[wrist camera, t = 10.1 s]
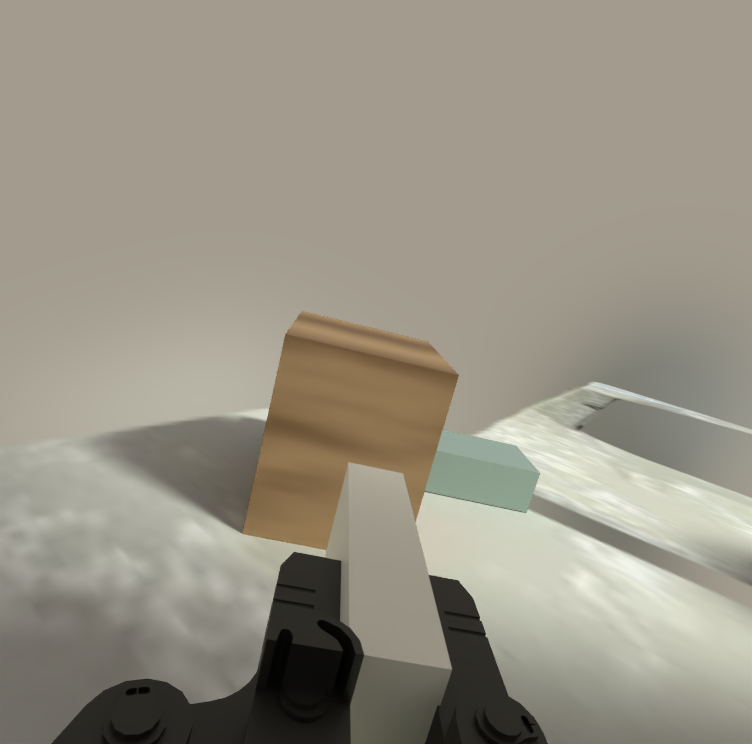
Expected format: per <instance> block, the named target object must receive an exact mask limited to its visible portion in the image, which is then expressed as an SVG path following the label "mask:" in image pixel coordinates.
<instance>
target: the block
mask: <svg viewBox="0 0 752 744" xmlns="http://www.w3.org/2000/svg"><path fill="white" fill-rule="evenodd" d="M458 376H459V375H458V374H457V373H456V372H455V370H454V369H453V368H452V367H451V366H450V365H449V364H448V363H447V362H446V361H445V360H444V359H443V358H442V356H441V355H440V354H439V353H438V352H437V351H436V350H435V349H434V348H433V347H432V346H431V345H430V344H429V342H428V341H424V340H420V339H416V338H411V337H408V336H403V335H399V334H395V333H391V332H387V331H383V330H379V329H375V328H371V327H366V326H362V325H358V324H354V323H350V322H346V321H342V320H337V319H333V318H329V317H325V316H321V315H317V314H312V313H309V312H304V311H302V312H301V314H300V315H299V316H298V317H297V319H296V320H295V322H294V323H293V324H292V326H291V327H290V329H289V330H288V331H287V333H286V335H285V339H284V343H283V348H282V353H281V358H280V362H279V367H278V371H277V376H276V380H275V385H274V390H273V394H272V399H271V404H270V408H269V413H268V417H267V422H266V427H265V431H264V436H263V440H262V445H261V450H260V454H259V459H258V464H257V468H256V473H255V477H254V482H253V487H252V491H251V496H250V501H249V505H248V510H247V514H246V519H245V524H244V528H243V533H242V534H245V535H251V536H256V537H261V538H266V539H272V540H277V541H282V542H287V543H292V544H298V545H303V546H308V547H313V548H319V549H324V550H327V546H328V542H329V538H330V534H331V530H332V526H333V522H334V518H335V514H336V510H337V506H338V502H339V498H340V494H341V490H342V486H343V482H344V478H345V474H346V470H347V466H348V462H350V463H355V464H360V465H365V466H369V467H374V468H379V469H384V470H389V471H394V472H398V473H403V475H404V479H405V483H406V487H407V491H408V495H409V499H410V503H411V507H412V511H413V515H414V519H415V522H416V518H417V515H418V512H419V508H420V505H421V501H422V498H423V495H424V491H425V488H426V485H427V481H428V478H429V474H430V471H431V468H432V464H433V461H434V457H435V454H436V451H437V447H438V444H439V440H440V437H441V434H442V430H443V427H444V424H445V420H446V416H447V413H448V410H449V407H450V403H451V400H452V396H453V393H454V389H455V386H456V383H457V379H458Z"/></svg>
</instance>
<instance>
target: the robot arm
mask: <svg viewBox="0 0 752 744" xmlns="http://www.w3.org/2000/svg"><path fill="white" fill-rule="evenodd" d="M485 634H486V633H485V630H484V627H483V625H482V622H481V621H480V616H479V613H478V611H477V608H476V605H475V602H474V600H473V598H472V597H471V595H470V594H469V593H468V592H467V591H466V589H465V588H464V587H463V586H462V585H461V584H460V582H459V581H458V580H453V579H447V578H442V577H437V576H431V575H428V571H427V567H426V563H425V559H424V555H423V551H422V547H421V543H420V539H419V535H418V531H417V527H416V523H415V519H414V515H413V511H412V507H411V503H410V499H409V495H408V491H407V487H406V483H405V479H404V475H403V473H398V472H394V471H389V470H384V469H379V468H374V467H369V466H365V465H360V464H355V463H350V462H348V466H347V470H346V474H345V478H344V482H343V486H342V490H341V494H340V498H339V502H338V506H337V510H336V514H335V518H334V522H333V526H332V530H331V534H330V538H329V542H328V546H327V550H326V558H324V557H319V556H313V555H308V554H302V553H297V552H294V553H293V554H292V555H291V556H290V557H289V558H288V559H287V560H286V561H285V562H284V563H283V564H282V565H281V567H280V572H279V576H278V580H277V585H276V589H275V593H274V598H273V602H272V607H271V611H270V615H269V620H268V624H267V628H266V633H265V638H264V642H263V647H262V652H261V656H260V661H259V666H258V670H257V673H256V674H255V675H254V677H253V678H252V679H251V681H250V682H249V683H248V684H247V685H246V686H244V687H243V688H242V689H241V690H239V691H238V692H236V693H234V694H232V695H230V696H228V697H226V698H222V699H218V700H214V701H210V702H203V703H196V704H189V702H188V700H187V699H186V697H185V696H184V694H183V692H181V691H180V690H178V689H177V688H175V687H173V686H172V685H170V684H169V683H167V682H162V681H157V680H152V679H140V680H132V681H125V682H123V683H121V684H118V685H116V686H113V687H111V688H109V689H106V690H104V691H103V692H102V693H101V694H99V695H98V696H97V697H96V698H94V699H93V700H92V701H91V702H90V703H88V704H87V705H86V706H85V707H84V708H83V709H82V710H81V712H80V713H79V714H78V715H77V716H76V717H75V718H74V719H73V720H72V722H71V723H70V724H69V725H68V726H67V727H66V728H65V729H64V730H63V732H62V733H61V734H60V735H59V736H58V737H57V738H56V739H55V740H54V742H53V743H52V744H548V743H547V741H546V738H545V736H544V733H543V732H542V730H541V728H540V727H539V725H538V723H537V722H536V720H535V718H534V717H533V716H532V715H531V714H530V713H529V712H528V711H527V710H526V709H525V708H524V707H523V706H522V705H521V704H520V703H518V702H517V701H515V700H514V699H512V698H510V697H509V696H508V694H507V691H506V688H505V685H504V683H503V680H502V677H501V674H500V672H499V669H498V666H497V663H496V661H495V658H494V655H493V652H492V649H491V647H490V644H489V641H488V638H487V637H485Z"/></svg>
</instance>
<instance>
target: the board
mask: <svg viewBox="0 0 752 744" xmlns="http://www.w3.org/2000/svg"><path fill="white" fill-rule="evenodd" d="M539 475H540V473H539V471H538V470H537V469H536V468H535V467H534V466H533V465H532V463H531V462H530V461H529V460H528V459H527V458H526V457H525V455H524V454H523V453H522V452H521V451H520V450H519V449H518V447H517V446H514V445H510V444H506V443H501V442H497V441H492V440H488V439H483V438H479V437H474V436H470V435H465V434H461V433H456V432H452V431H448V430H442V434H441V437H440V440H439V444H438V447H437V451H436V454H435V457H434V461H433V464H432V468H431V471H430V474H429V478H428V481H427V485H426V488H425V491H426V492H431V493H436V494H441V495H445V496H450V497H455V498H460V499H464V500H469V501H474V502H479V503H483V504H488V505H493V506H498V507H502V508H507V509H512V510H517V511H521V512H526V513H527V510H528V507H529V504H530V501H531V498H532V495H533V492H534V489H535V487H536V484H537V481H538V478H539Z"/></svg>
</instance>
